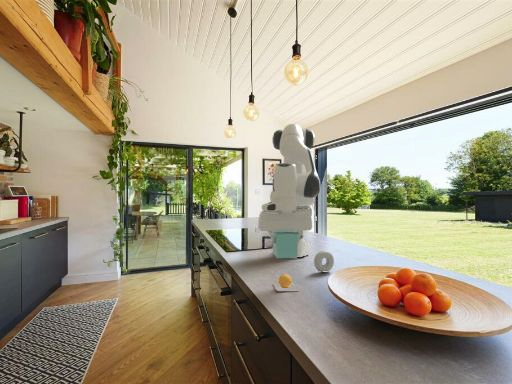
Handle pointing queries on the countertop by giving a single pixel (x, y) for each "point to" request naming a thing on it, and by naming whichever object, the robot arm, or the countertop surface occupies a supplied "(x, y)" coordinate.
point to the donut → (329, 261)
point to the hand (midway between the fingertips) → (285, 242)
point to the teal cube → (285, 244)
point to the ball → (285, 281)
